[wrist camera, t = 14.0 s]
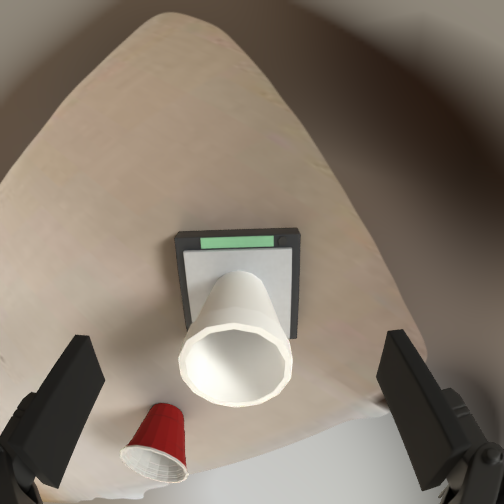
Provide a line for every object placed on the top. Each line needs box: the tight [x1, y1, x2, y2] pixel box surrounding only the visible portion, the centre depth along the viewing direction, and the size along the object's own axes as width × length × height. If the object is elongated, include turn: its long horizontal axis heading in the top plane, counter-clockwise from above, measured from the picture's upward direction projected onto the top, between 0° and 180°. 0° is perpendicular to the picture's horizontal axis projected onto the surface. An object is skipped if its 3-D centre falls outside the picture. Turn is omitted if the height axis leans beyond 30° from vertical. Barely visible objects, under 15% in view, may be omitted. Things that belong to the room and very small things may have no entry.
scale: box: [174, 228, 301, 339], centre depth 39 cm, size 14×14×3 cm
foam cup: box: [178, 271, 293, 407], centre depth 31 cm, size 10×9×13 cm
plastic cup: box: [120, 403, 188, 483], centre depth 44 cm, size 11×11×12 cm
